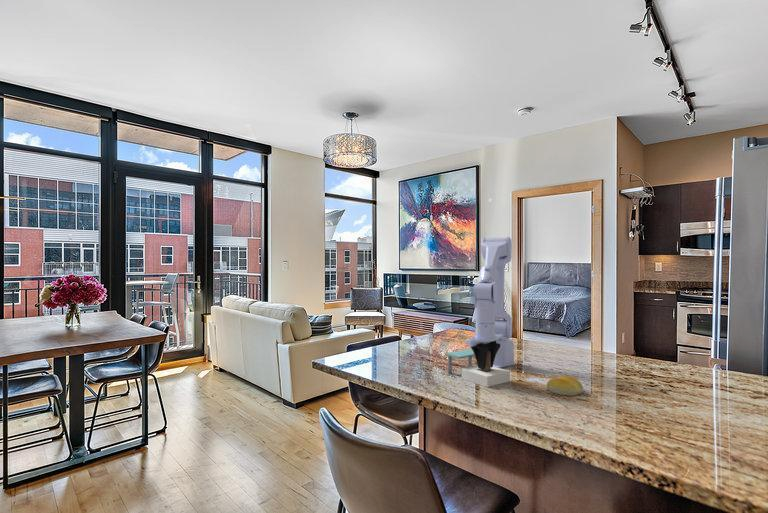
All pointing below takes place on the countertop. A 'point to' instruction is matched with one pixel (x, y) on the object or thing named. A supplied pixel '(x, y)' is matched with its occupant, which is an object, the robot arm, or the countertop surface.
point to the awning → (459, 355)
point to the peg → (487, 363)
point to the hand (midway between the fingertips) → (485, 367)
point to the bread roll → (565, 386)
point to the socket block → (486, 376)
